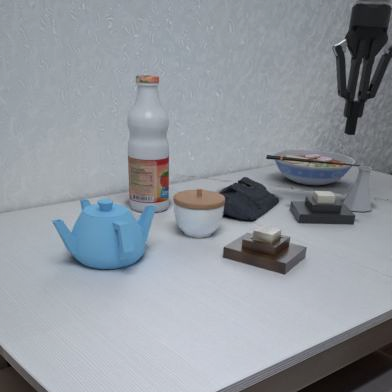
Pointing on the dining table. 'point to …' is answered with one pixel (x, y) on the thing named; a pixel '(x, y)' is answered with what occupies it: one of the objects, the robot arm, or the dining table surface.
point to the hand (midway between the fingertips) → (349, 133)
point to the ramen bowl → (312, 165)
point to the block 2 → (321, 212)
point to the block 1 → (265, 253)
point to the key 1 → (267, 234)
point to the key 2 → (324, 197)
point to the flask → (360, 192)
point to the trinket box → (198, 211)
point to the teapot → (106, 234)
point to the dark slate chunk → (247, 200)
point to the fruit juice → (148, 148)
